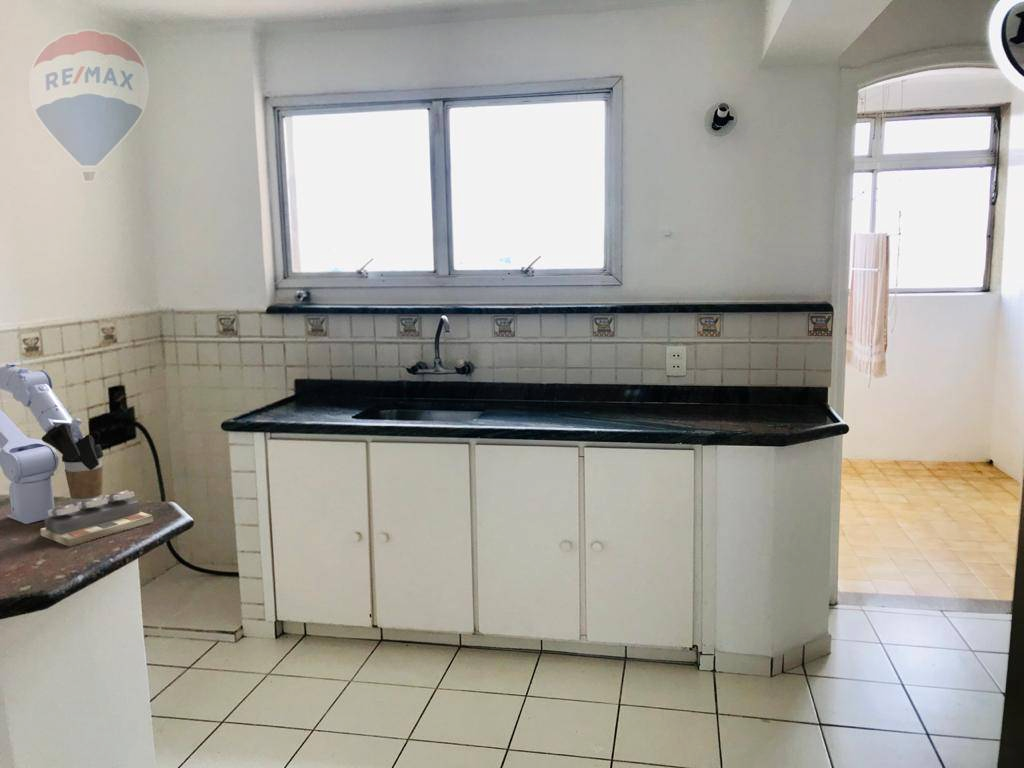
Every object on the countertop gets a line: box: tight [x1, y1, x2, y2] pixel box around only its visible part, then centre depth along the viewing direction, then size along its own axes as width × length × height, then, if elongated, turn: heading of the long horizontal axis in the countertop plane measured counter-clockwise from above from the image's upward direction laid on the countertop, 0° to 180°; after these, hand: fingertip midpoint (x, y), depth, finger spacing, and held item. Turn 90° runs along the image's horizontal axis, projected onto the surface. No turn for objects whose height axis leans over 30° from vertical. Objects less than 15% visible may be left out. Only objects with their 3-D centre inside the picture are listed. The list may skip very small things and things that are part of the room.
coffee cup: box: [61, 443, 104, 509], centre depth 188 cm, size 8×8×15 cm
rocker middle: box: [77, 496, 108, 510], centre depth 176 cm, size 6×4×2 cm, turn 54°
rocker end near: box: [48, 503, 80, 517], centre depth 171 cm, size 6×4×2 cm, turn 54°
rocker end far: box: [103, 489, 136, 502], centre depth 181 cm, size 6×4×2 cm, turn 54°
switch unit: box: [39, 498, 154, 547], centre depth 175 cm, size 12×18×4 cm, turn 144°
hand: (85, 462), depth 172 cm, fingers open, 7 cm apart
